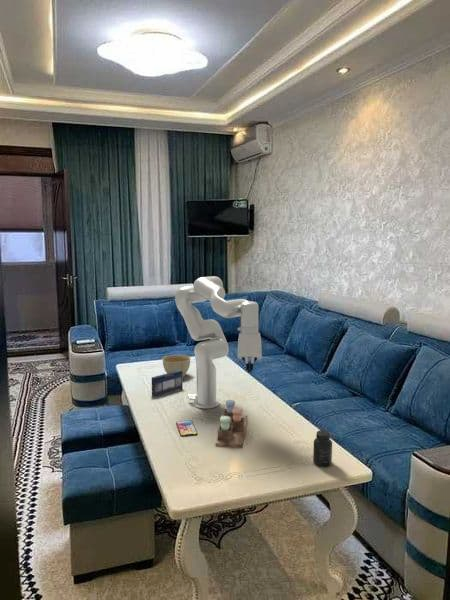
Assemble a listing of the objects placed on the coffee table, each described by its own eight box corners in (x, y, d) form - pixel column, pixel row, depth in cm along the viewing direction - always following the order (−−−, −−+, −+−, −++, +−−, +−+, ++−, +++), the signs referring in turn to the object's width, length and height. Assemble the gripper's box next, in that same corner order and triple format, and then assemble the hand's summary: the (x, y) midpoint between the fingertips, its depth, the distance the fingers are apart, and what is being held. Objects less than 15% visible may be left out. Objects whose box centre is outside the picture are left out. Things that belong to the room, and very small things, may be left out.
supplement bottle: (310, 459, 181) (311, 429, 179) (328, 458, 182) (329, 428, 180) (315, 468, 174) (316, 437, 173) (334, 467, 175) (335, 436, 173)
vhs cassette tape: (154, 397, 245) (153, 378, 243) (151, 395, 247) (150, 377, 245) (183, 389, 257) (183, 371, 255) (180, 387, 259) (179, 369, 257)
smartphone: (191, 420, 215) (198, 433, 201) (191, 422, 216) (198, 435, 201) (175, 421, 214) (180, 435, 199) (175, 423, 214) (180, 437, 199)
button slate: (224, 416, 212) (225, 403, 211) (226, 413, 216) (226, 399, 215) (234, 417, 211) (234, 403, 210) (235, 413, 215) (235, 400, 214)
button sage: (219, 434, 194) (219, 419, 193) (220, 430, 198) (220, 415, 197) (229, 434, 194) (229, 420, 193) (230, 430, 198) (231, 416, 197)
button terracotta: (231, 425, 202) (231, 411, 201) (232, 421, 207) (232, 407, 206) (241, 426, 202) (241, 412, 201) (242, 422, 206) (242, 408, 205)
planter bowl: (196, 375, 280) (196, 357, 278) (179, 382, 267) (178, 363, 265) (174, 370, 288) (174, 353, 287) (156, 377, 275) (156, 359, 273)
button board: (215, 445, 191) (215, 433, 191) (224, 417, 220) (224, 406, 219) (241, 447, 190) (241, 435, 189) (247, 418, 219) (247, 407, 218)
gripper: (231, 332, 203) (231, 374, 206) (267, 332, 202) (266, 374, 204) (232, 328, 210) (233, 369, 213) (267, 328, 209) (266, 369, 212)
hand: (249, 371), depth 209 cm, fingers closed
